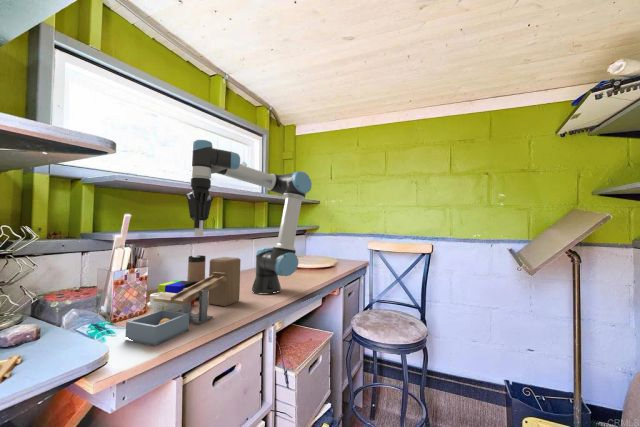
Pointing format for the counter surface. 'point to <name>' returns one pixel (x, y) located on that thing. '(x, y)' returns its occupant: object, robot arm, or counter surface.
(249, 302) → the counter surface
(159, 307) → the pipe fitting
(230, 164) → the robot arm
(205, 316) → the stand
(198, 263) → the travel mug
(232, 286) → the block
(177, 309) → the puzzle toy
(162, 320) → the ball
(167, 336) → the tray
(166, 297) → the lever
